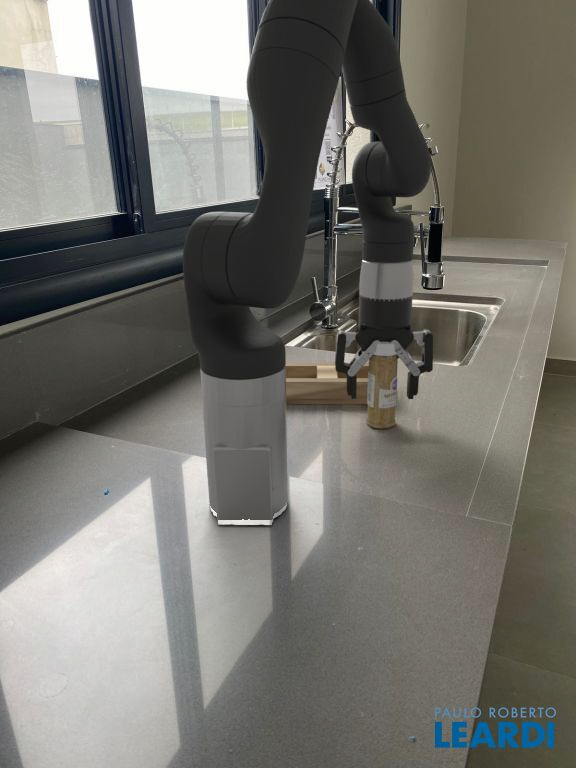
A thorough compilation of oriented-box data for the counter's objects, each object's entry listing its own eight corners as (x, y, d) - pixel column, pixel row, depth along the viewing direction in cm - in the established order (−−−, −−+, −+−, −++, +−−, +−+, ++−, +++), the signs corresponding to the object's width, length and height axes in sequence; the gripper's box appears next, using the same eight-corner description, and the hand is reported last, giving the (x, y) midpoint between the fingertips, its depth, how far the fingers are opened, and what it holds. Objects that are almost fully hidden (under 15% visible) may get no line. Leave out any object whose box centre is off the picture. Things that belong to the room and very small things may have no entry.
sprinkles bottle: (392, 431, 90) (397, 344, 86) (362, 427, 92) (365, 342, 87) (398, 419, 94) (402, 336, 90) (369, 416, 96) (372, 334, 91)
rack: (387, 404, 100) (388, 381, 99) (267, 404, 101) (267, 381, 100) (381, 383, 110) (382, 362, 108) (271, 383, 111) (270, 363, 109)
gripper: (337, 297, 83) (335, 407, 88) (441, 296, 82) (433, 406, 88) (334, 287, 90) (333, 389, 95) (431, 286, 89) (424, 388, 95)
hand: (381, 397), depth 92 cm, fingers open, 8 cm apart
